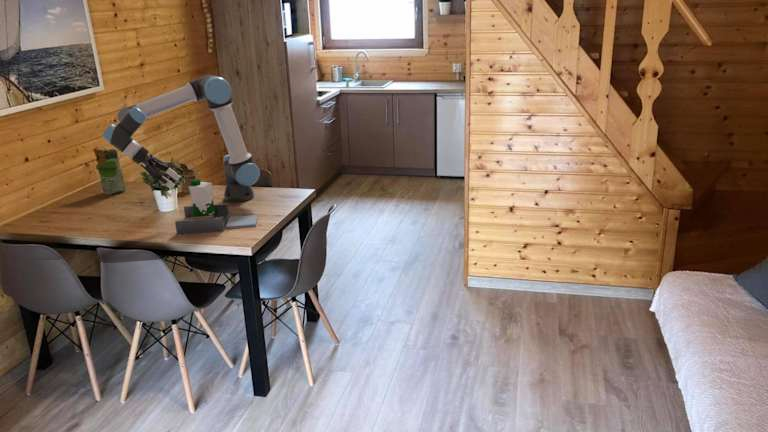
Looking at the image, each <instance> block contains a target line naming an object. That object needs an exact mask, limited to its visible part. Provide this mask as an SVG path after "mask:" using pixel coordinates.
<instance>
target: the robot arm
mask: <svg viewBox="0 0 768 432" xmlns="http://www.w3.org/2000/svg"><path fill="white" fill-rule="evenodd" d="M232 91H233V90H232V87H231V85H230V83H229V82H228V80H226V79H225V78H223V77H221V76H217V75H214V74H207V75H203V76H202V75H201V76H200V77H198V78H196V79H194V80H190V81H188V82H187V83H186V85H184V86H182V87H179V88H176V89H174V90H171V91H168V92H166V93H163V94H160V95H158V96H155V97H151V98H149V99H146V100H145V101H142V102H138V103H136V104H133V105H131V106H128V107H122V108H120V109H119V110H118V112H117V119H118V121H119V122H118V123H117V124H114V123H111V124H110V125H109V126H108V127H107V128H106V129H105V130H104V131H103V133H102V138H103V139H104V140H105V141H106V142H107V143H109V144H110V145H111V146H113V147H114V148H115V149H116V150H117V151H120V153H122V154H123V155H124V156H125V157H128V158H129V159H131V160H132V161H133V162H134V163H135V164H137V165H140V167H142V169H144V170H145V171H146V172H147V174H148V175H150V177H152V179H153V180H154V181H156V182H160V183H161V184H162V185H164V186H165V187H167V188H169V189H170V190H172V189H173V188H174V187H175V186H176V184H175V183H174V182H172V181H171V180H169V179H168V178H167V177H166V176H164V175H162V174H161V173H160V172H159V170H161V171H164V172H165V173H166V174H167V175H168V176H169V177H171V178H172V179H173V180H175V181H176V182H178V181H180V180H179V179H180V177H181V178H182V175H181V174H180V175H178V174H177V171H174V170H173V169H172V168H171V165H170V164H168V163H167V162H165V161H162V159H159V158H158V157H156V156H154V155H153V154H151V153H150V152H149V150H148V149H147V148H145V147H143V146H142V145H141V143H139V142H138V141H137V140H135V139H134V138H132V136H133V135H134V134H135V133H136V132H137V130H139V128H141V126H142V125H143V124H145V122H146V120H147V119H149V118H152V117H154V116H156V115H160V114H162V113H164V112H167V111H169V110H172V109H175V108H177V107H180V106H183V105H185V104H188V103H191V102H194V103H197V102H199V101H203V100H205V102H206V105H207V108H208V110H210V111H212V112H213V114H214V117H215V120H216V122H217V125H218V128H219V131H220V133H221V134H220V135H221V136H222V139H223V141H224V142H223V143H224V145H225V147H226V149H227V152H228V154H226V155H224V156H223V158H222V159H223V160H222V163H223V169H224V179H225V183H226V184H225V188H224V194H223V197H224V200H225V201H226V202H231V203H232V202H234V203H237V202H245V201H249V200H252V199H253V198H254V197H255V192H254V189H253V187H252V185H255V183H257V182H258V180H259V178H260V175H261V171H260V168H259V167H258V165H257V164H256V163H255V160H254V158H253V155H252V153H250V152H248V150H247V148H246V144H245V142H244V139H243V136H242V133H241V130H240V128H239V125H238V122H237V121H238V120H237V118H236V116H235V112H234V110H233V108H232V105H233V103H234V100H233V96H232ZM149 153H150V155H148V154H149ZM158 169H159V170H158Z"/></svg>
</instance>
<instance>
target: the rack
mask: <svg viewBox="0 0 768 432" xmlns="http://www.w3.org/2000/svg"><path fill="white" fill-rule="evenodd" d="M183 211H184V212H183V213H184V218H183V219H180V220H175V221H174V224H175V230H176V235H178V236H179V235H191V234H204V233H218V232H224V231H225V228H226V226H227V223H228V220H229V217H230V213H229V211H230V210H229V204H228V202H226V203H214V211H215V218H207V219H193V220H185V219H186V218H190V217H194V212H193V205H184V206H183Z"/></svg>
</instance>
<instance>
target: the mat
mask: <svg viewBox="0 0 768 432" xmlns="http://www.w3.org/2000/svg"><path fill="white" fill-rule="evenodd" d="M258 219H259V215H258V214H255V215H253V214H252V215H251V214H250V215H240V216H239V215H238V216H229V217H228V220H227V223H226V225H225V228H226V229H237V228H251V227H257V224H258V223H257V222H258Z"/></svg>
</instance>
